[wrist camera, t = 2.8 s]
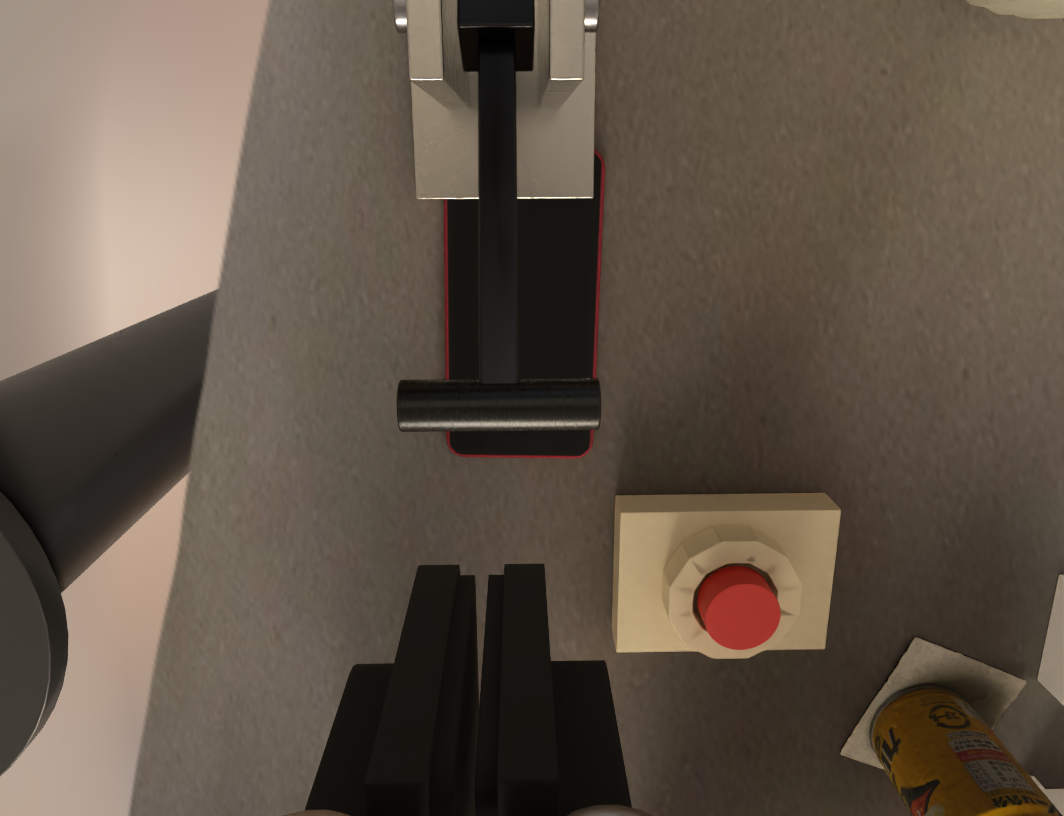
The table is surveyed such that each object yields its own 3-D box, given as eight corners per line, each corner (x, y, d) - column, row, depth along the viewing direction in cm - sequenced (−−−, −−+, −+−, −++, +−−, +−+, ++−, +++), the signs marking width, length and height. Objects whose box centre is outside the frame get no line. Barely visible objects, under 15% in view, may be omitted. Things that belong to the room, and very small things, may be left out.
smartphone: (606, 147, 36) (592, 459, 40) (604, 147, 37) (590, 453, 41) (442, 143, 36) (446, 457, 40) (444, 144, 37) (447, 451, 41)
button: (695, 630, 40) (702, 651, 38) (699, 565, 39) (707, 583, 37) (766, 629, 40) (777, 649, 38) (772, 564, 39) (784, 582, 37)
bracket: (591, 197, 37) (632, 216, 24) (418, 198, 37) (364, 217, 24) (595, -98, 34) (647, -266, 20) (405, -98, 34) (333, -267, 20)
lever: (594, 434, 23) (603, 424, 21) (406, 436, 23) (393, 426, 21) (584, -10, 25) (590, -65, 23) (410, -10, 25) (398, -65, 23)
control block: (611, 629, 44) (620, 673, 40) (615, 494, 42) (625, 528, 38) (810, 626, 44) (838, 670, 40) (825, 492, 42) (856, 525, 38)
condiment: (838, 751, 47) (943, 944, 35) (913, 635, 44) (1051, 799, 33) (944, 790, 48) (1080, 990, 36) (1023, 678, 45) (1195, 852, 34)
